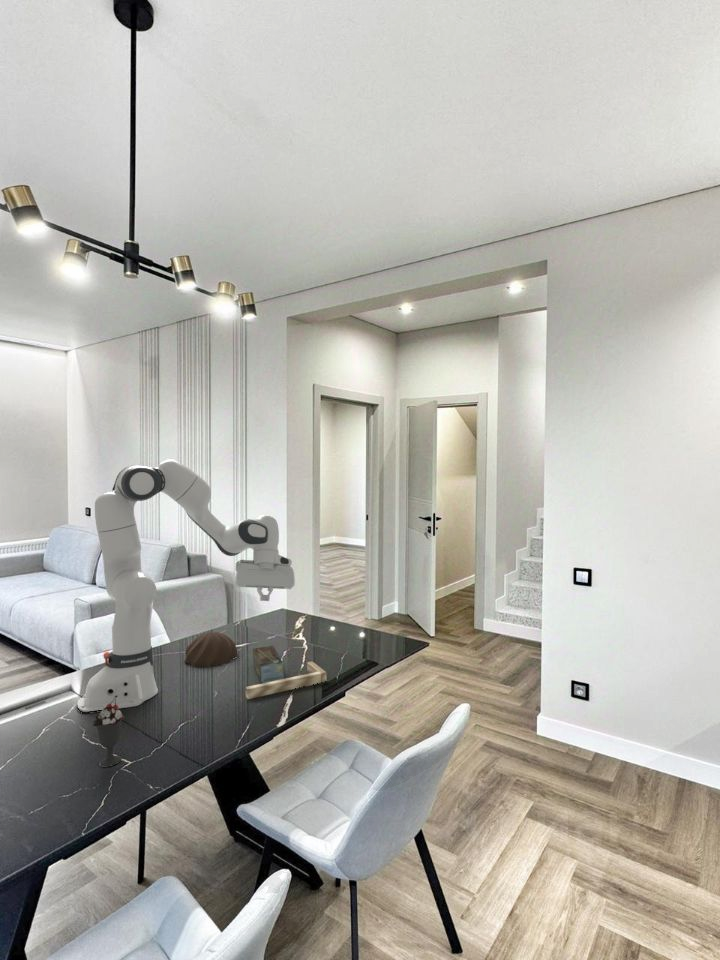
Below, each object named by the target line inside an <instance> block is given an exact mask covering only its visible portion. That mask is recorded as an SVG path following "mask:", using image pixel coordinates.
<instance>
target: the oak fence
mask: <svg viewBox="0 0 720 960" xmlns="http://www.w3.org/2000/svg"><path fill="white" fill-rule="evenodd" d="M306 671H308V672H307V673H306V674H301V675H295V676H292V677H287V678H284V679H281V680H276V681H272V682H266V683H262V682H261V683H260V684H259V683H258V684H254V685H249V686H245V698H246V699H247V700H251V699H254V698H255V699H256V698H260V697H264V696H265V697H266V696H268V695H273V694H278V693H281V692H285V691H286V692H287V691H289V690H295V688H296V689H300V688H304V687H303V686H305V687H309V686H314V685H317V683H318V684H322V683H326V682H325V681H328V679H327V678H328V677H327V676H328V675H327V674H328V673H327V671H326V670H324V669H323V668H322V667H320V666H319V665H318V664H316V663H315V662H314V661H309V662H306ZM321 682H322V683H321ZM313 684H314V685H313ZM299 687H300V688H299Z"/></svg>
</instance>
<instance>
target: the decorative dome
mask: <svg viewBox="0 0 720 960" xmlns="http://www.w3.org/2000/svg"><path fill="white" fill-rule="evenodd" d="M237 652H238V653H239V651H238V648H237V646H236V644H235V642H234V640H233V639H231V637H229V636H228V635H226V634H225V633H221V632H218V631H207V632H203V633H202V634H200V635H198V636H197V637H195V638H194V639H193V641H192V642H191V643H190V644H189V645H187V647H186V650H185V658H184V659H185V660H184V662H183V663H184V664H188V665H191V667H212V666H216V665H223V664H224V665H225V664H227V662H228V661H229V660H230V661H232V660H231V659H233V658H235V657H237V658H238V654H237ZM233 660H234V659H233ZM230 661H229V662H230ZM229 662H228V663H229Z"/></svg>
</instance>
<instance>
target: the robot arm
mask: <svg viewBox="0 0 720 960" xmlns="http://www.w3.org/2000/svg"><path fill="white" fill-rule="evenodd" d="M160 492H161V493H163V494H164V495H167V496H168V497H170V499H172V500H173V501H175V502H176V503H177V504H178V505H179V506H180V507H182V508H183V510H184V511H185V513H186V515H187V516H188V518H190V519H191V521H192V522H193V523H194V524H195V525H197V526H198V527H199V528H200V529H201V530H202V531H203V533H205V534H206V535H207V536H208V537H209V538H211V540H212V541H213V542H214V543H215V545H216V547H217V548H218V550H219V551H221V553H223V554H224V555H225V556H228V557H235V556H237V555H239V554H240V553H242V552H244V551H246V550H249V549H252V550H253V556H252V559H240V560H238V561H237V562H236V563H235V572H236V575H235V580H234V584H235V586H236V587H237V588H254V589H255V588H256V591H257V593H258V595H259V601H261V602H270V599H271V598H270V597H271V594H272V593H273V590H277V589H278V590H281V589H282V590H291V589H292V588H293V587H294V586H295V584H296V583H295V581H296V580H295V573H294V569H293V567H292V563H293V561H292V559H290V558H288V557H285V556H282V555H280V554H279V548H278V545H279V541H280V539H279V538H280V531H279V524H278V521H277V519H276V518H274V517H273V516H270V515H262V514H261V515H259V516H258V517H255V518H253V519H250V518H246V519H242V520H241V521H239V522H237V523H235V524H234V525H232V526H227V525H225V524H223V523H222V522H221V521H220V520H219V519H218V518H217V517H216V516H215V515H214V514H212V512H211V511H210V509H209V503H210V501H211V498H212V497H211V496H212V491H211V487H210V486H209V484H208V483H207V482H206V480H205V479H203V478H202V477H201V476H200V475H198V474H197V473H196V472H195V471H193V470H192V469H190V468H189V467H188V466H186V465H184V464H182V463H181V462H180V461H177V460H175V459H171V458H170V459H166V460H163V461H161V462H160V463H159V464H158V465H157V466H156V467H152V466H151V467H150V466H146V465H145V466H144V465H140V464H133V465H130V466H126V467H124V468H123V469H122V470H121V471H120V472H119V473H118V475H117V476H116V479H115V480H114V484H113V487H112V489H111V491H108V492H107V491H106V492H105V493H102V494H100V495H99V496H98V497H97V498H96V500H95V501H94V519H95V526H96V530H97V535H98V540H99V545H100V549H101V554H102V561H103V574H104V581H105V589H106V592H107V595H108V596H109V598H110V599H112V600H113V601H114V603H115V611H114V618H113V623H112V624H111V625H112V626H111V642H112V644H111V645H112V646H111V647H112V648H111V649H112V651H111V652H110V651H105V652H104V653H103V654H102V656H103V659H104V661H105V662H104V663H105V666H103V667H102V668H101V669H100V670H99V671H98V672H97V673H96V674H94V675H93V676H91V678H90V679H89V681H88V683H87V684H86V688H85V693H84V694H85V698H80V697H79V698H80V699H79V698H78V699H79V700H77V702H76V703H77V705H78V708H79V709H81V710H83V711H94V710H103V709H104V708H105V707H106V706H107V705H108V704H110V703H111V702H112V701H113V702H112V703H111V705H112V707H113V706H114V705H115V702H116V705H117V706H118V709H123V708H124V709H125V708H133V707H137V706H140V705H141V704H143V703H144V702H145V701H148V700H149V699H151V698H153V697H154V696H156V695H157V694H158V693H159V689H158V686H157V683H156V680H155V679H156V678H155V675H154V668H153V666H154V648H153V646H152V634H151V633H152V629H151V626H152V625H151V624H152V623H151V622H152V614H153V609H154V600H155V599H156V596H157V585H156V584H155V581H154V580H153V579H152V577H151V576H149V574H146V573H145V572H143V570H142V563H141V554H142V553H141V551H142V544H141V539H140V534H139V531H138V525H137V521H136V516H135V510H134V509H135V505H136V503H137V502H143V501H147V500H149V499H151V498H153V497H155V496H156V495H157V494H159V493H160ZM263 589H267V592H268V593H267V594H264V593H263V592H262V590H263ZM117 695H118V697H115V696H117ZM114 697H115V698H116V701H115V698H114ZM113 699H114V700H113ZM77 705H76V706H77ZM82 707H84V708H82Z"/></svg>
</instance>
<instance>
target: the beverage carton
mask: <svg viewBox="0 0 720 960" xmlns="http://www.w3.org/2000/svg"><path fill="white" fill-rule="evenodd" d="M252 661H253V667H254V669H255V671H256V673H257V676H258V678H259V680H260V683H261V684H262V683H267V682H272V681H276V680H281V679H285V673H284V671H285V670H284V669H285V668H284V662H283V660H282V659H281V657H280V655H279V653H278V651H277V649H276V648H275V646H274V645H269V646H262V647H256V648H253V649H252Z"/></svg>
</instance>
